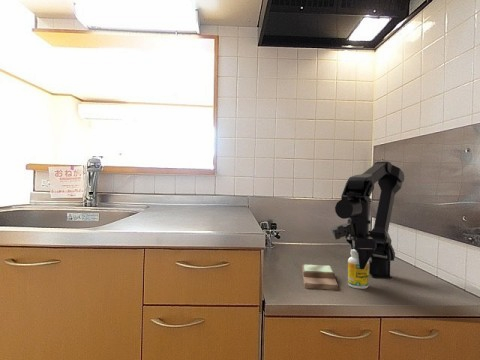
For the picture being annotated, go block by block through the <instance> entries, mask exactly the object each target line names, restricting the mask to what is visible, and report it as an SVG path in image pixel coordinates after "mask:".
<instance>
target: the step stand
mask: <svg viewBox="0 0 480 360" xmlns="http://www.w3.org/2000/svg"><path fill="white" fill-rule="evenodd" d="M301 275H302V280H303V281H302V282H303V286H304V289H317V290H319V289H320V290H332V291H334V290H335V291H336V290H337V291H339V284H338V282H337V280H336V278H335V275H336V274H335V271H334V270H333V268H332V266H331V265H323V264H302V265H301Z"/></svg>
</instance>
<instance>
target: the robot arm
mask: <svg viewBox="0 0 480 360" xmlns="http://www.w3.org/2000/svg"><path fill="white" fill-rule="evenodd" d="M404 181H405V174H404V172H403V171H402V169H401V168H400V167H398V166H395V165H393V163H392V162H391V161H386V160H385V161H381V160H380V161H376V162H374V164H373V165H372V166H371V167H369V168H368V169H367V170H365V171H364V172H363V173H361V174H355V175H352V176H349V177H348V179H347V180H346V183H345V186H344V188H343V191H342V193H341V198H340V199H339V200H338V201H337V203H336V204H335V206H334V210H335V214H336V215H337V217H339V218H340V219H343V220H346V219H347V222H346V223H342V224H339V225H335V226H334V227H333V226H332V227H331V228H330V230H331V233H332V235H333V238H334V240H340V239H342V238H344V240H345V241H346V242H347V243H348V244H349V246H350V251H351V250H352V249H355V250H356V251H357V254H358V260H359V267H360V269H364V268H365V266H366V264H367V262H368V260H369V276H370V277H372V278H379V279H380V278H381V279H393V277H392V276H391V261H392V262H394V261H395V259H396V251H395V250H394V249H395V248H394V247H393V245H392V239H391V236H390V234H389V230H390V224H391V223H390V222H391V217H392V213H393V212H392V211H393V208H394V207H393V206H394V202H395V201H394V200H395V196H396V194H397V193H398V192H399V191H400V190H401V189H402V185H403V182H404ZM376 183H377V184H378V186H379V188H380V194H379V195H380V196H379V200H378V205H377V209H376V215H375V219H374V224H373V227H372V229H371V230H369V229H370V224H371V223H372V222H371V220H370V202H372V198H370V197H371V194H372V193H373V191H374V190H375V184H376Z"/></svg>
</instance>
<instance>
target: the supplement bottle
mask: <svg viewBox="0 0 480 360" xmlns="http://www.w3.org/2000/svg"><path fill="white" fill-rule="evenodd" d="M369 261H370V259H369V260H368V262H367V264H366V266H365V268H364V269H360V267H359V260H358V254H357V251H356V250H355V249H352V250H351V249H350V257H349V258H348V259H347V284H348V286H349V287H351V288H352V289H359V290H361V289H362V290H363V289H364V290H365V289H367V288H368V287H369V286H370V285H369V284H370V282H369V281H370V278H369V277H370V274H369Z"/></svg>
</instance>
